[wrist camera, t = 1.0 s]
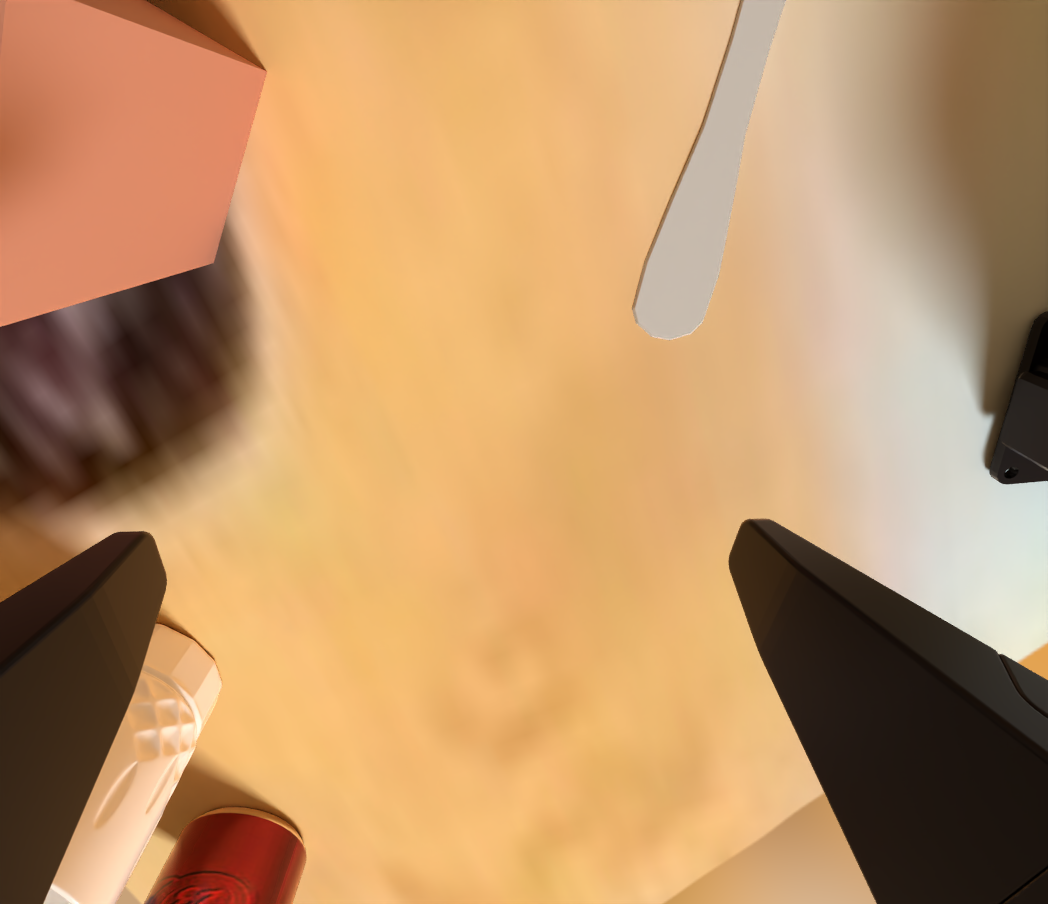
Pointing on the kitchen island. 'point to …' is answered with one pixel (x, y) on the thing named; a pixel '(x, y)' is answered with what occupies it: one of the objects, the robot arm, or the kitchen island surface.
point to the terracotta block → (112, 148)
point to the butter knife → (706, 187)
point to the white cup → (139, 770)
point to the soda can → (232, 861)
